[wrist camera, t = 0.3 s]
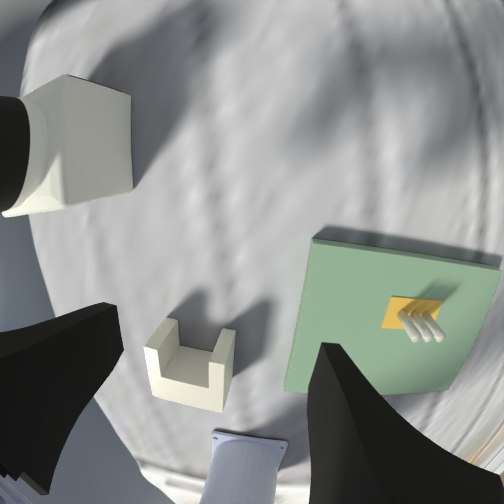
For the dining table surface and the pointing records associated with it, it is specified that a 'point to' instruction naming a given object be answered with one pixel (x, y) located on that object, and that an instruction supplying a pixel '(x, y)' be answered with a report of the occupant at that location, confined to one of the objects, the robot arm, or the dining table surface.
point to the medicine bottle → (64, 146)
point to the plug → (190, 368)
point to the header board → (390, 315)
